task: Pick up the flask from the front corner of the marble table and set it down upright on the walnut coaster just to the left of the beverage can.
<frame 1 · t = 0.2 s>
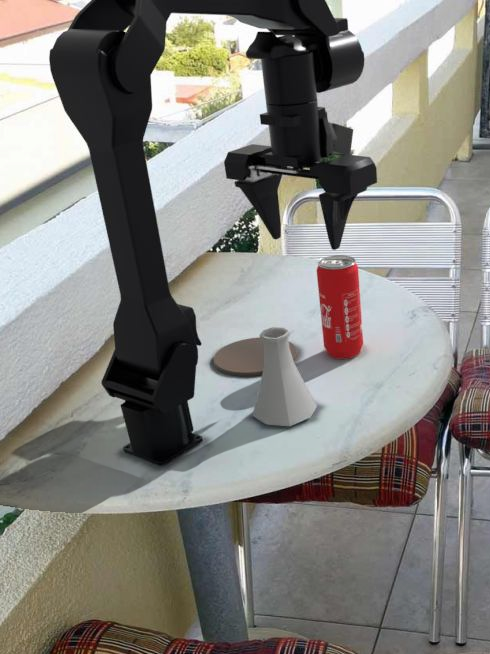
hand: (305, 243, 104), 14 cm above the table, tool pointing down, fingers open, 9 cm apart
coaster: (255, 357, 113), on the table
flask: (285, 414, 101), on the table
beverage can: (344, 353, 113), on the table
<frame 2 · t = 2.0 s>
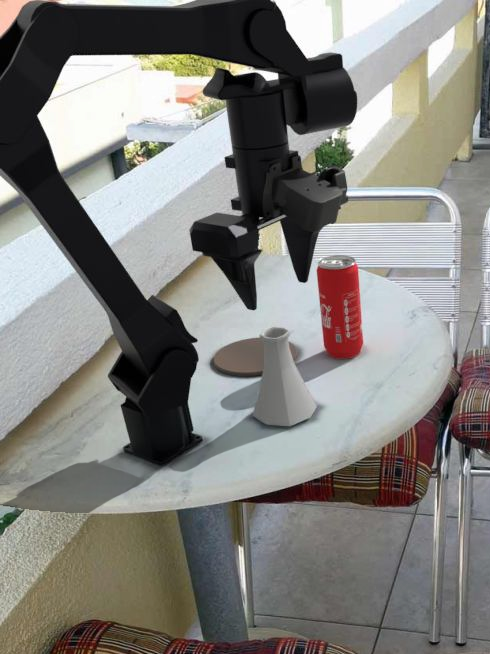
hand: (278, 295, 95), 13 cm above the table, tool pointing down, fingers open, 9 cm apart
nothing on the table moved.
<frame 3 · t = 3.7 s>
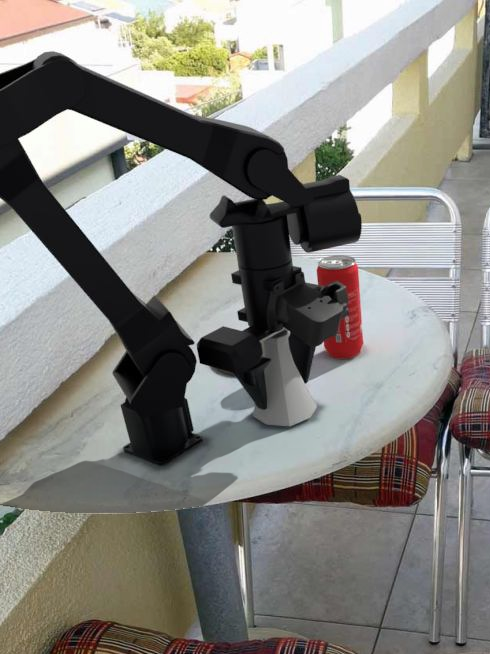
hand: (283, 395, 99), 2 cm above the table, tool pointing down, fingers closed on flask, 7 cm apart
flask: (285, 414, 101), on the table, touching gripper
everything else where it was.
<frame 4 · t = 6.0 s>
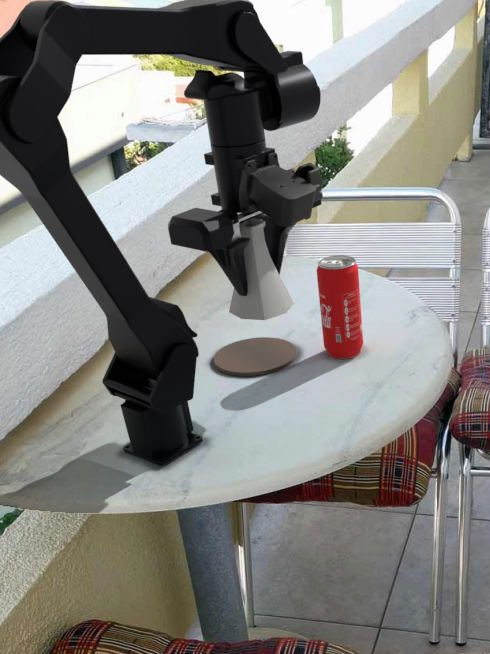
hand: (259, 288, 99), 13 cm above the table, tool pointing down, fingers closed on flask, 5 cm apart
flask: (262, 311, 100), point 10 cm above the table, touching gripper
everything else where it was.
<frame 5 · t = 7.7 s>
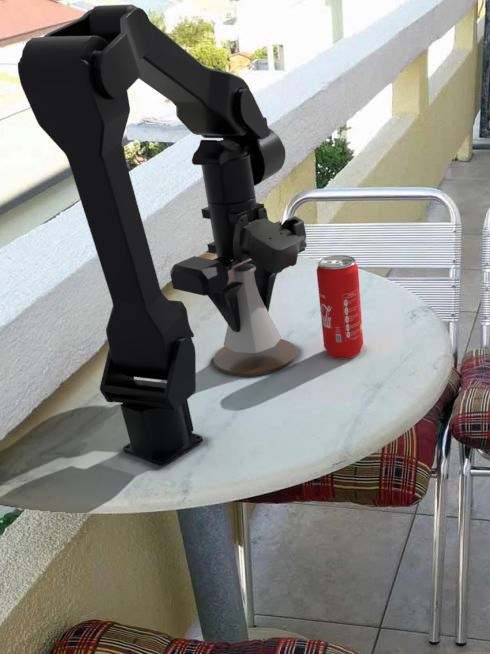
hand: (250, 324, 110), 5 cm above the table, tool pointing down, fingers closed on flask, 5 cm apart
flask: (253, 344, 112), point 2 cm above the table, touching gripper
everything else where it was.
when the fingers open (3 cm above the table, at t = 8.6 s): flask stays where it is, resting on coaster.
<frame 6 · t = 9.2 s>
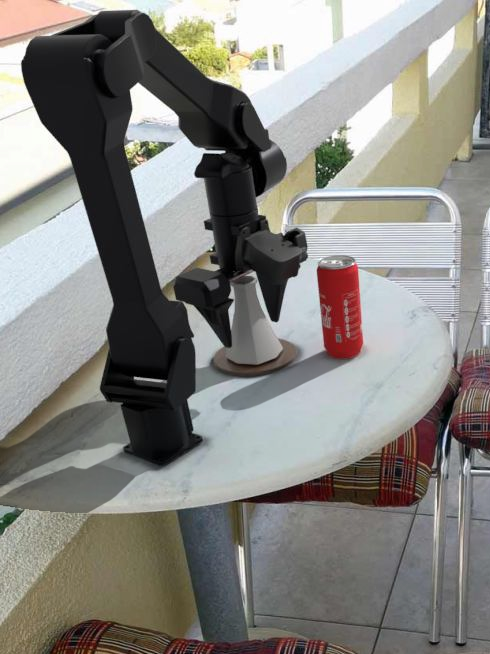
hand: (252, 333, 111), 3 cm above the table, tool pointing down, fingers open, 9 cm apart
flask: (254, 356, 113), resting on coaster
everything else where it was.
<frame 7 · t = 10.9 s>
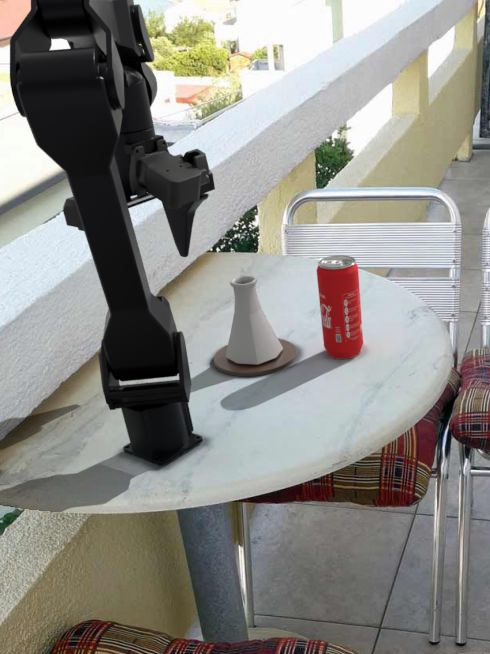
hand: (157, 268, 105), 13 cm above the table, tool pointing down, fingers open, 9 cm apart
nothing on the table moved.
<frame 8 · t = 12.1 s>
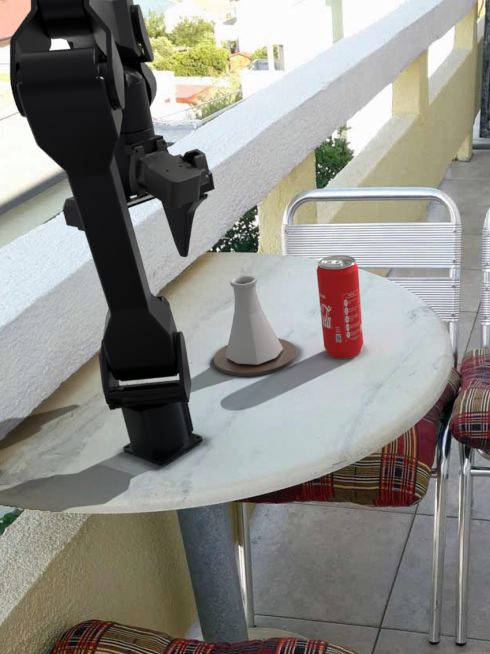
hand: (157, 268, 105), 13 cm above the table, tool pointing down, fingers open, 9 cm apart
nothing on the table moved.
at the end: flask 11.8 cm from the beverage can (horizontally); flask 0.1 cm from the coaster (horizontally); flask tilted 0° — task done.
